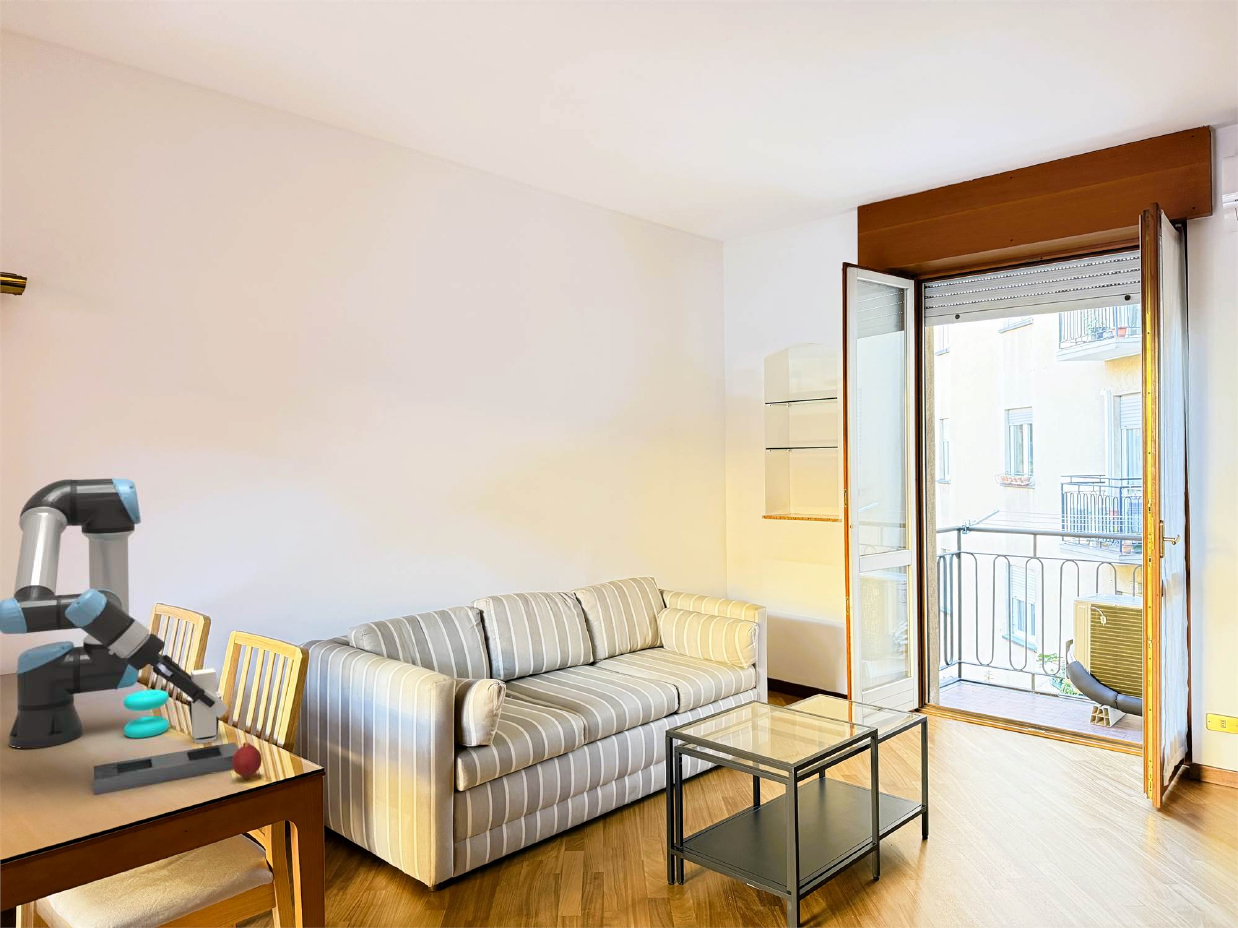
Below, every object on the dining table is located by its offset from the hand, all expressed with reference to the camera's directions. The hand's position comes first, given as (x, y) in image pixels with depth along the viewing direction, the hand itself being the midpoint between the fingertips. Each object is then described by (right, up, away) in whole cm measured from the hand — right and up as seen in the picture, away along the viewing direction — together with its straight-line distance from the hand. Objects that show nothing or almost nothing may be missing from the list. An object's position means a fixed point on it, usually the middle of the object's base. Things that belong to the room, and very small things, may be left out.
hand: (222, 710), depth 190 cm
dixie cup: (-13, -13, +18) cm, 25 cm away
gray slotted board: (-9, -12, -5) cm, 16 cm away
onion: (+9, -12, -8) cm, 18 cm away
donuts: (-31, -13, +24) cm, 41 cm away
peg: (-3, -5, -2) cm, 6 cm away
